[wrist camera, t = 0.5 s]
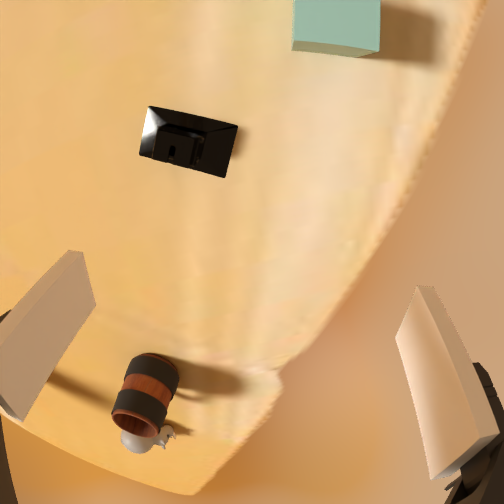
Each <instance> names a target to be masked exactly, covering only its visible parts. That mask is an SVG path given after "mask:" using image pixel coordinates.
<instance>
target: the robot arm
mask: <svg viewBox="0 0 504 504" xmlns="http://www.w3.org/2000/svg"><path fill="white" fill-rule="evenodd" d="M95 306H96V303H95V299H94V295H93V292H92V288H91V284H90V280H89V276H88V272H87V268H86V264H85V259H84V255H83V252H79V251H71V250H68V251H67V252H66V253H65V254H64V255H63V256H62V257H61V258H60V259H59V260H58V261H57V262H56V263H55V264H54V265H53V266H52V267H51V268H50V269H49V270H48V271H47V272H46V273H45V274H44V275H43V276H42V277H41V279H40V280H39V281H38V282H37V283H36V284H35V285H34V286H33V287H32V288H31V289H30V290H29V291H28V292H27V293H26V295H25V296H24V297H23V298H22V299H21V300H20V301H19V302H18V303H17V305H16V306H15V307H14V308H13V309H12V310H9V311H8V312H6V313H5V314H3V315H2V316H0V405H1V406H2V408H3V409H4V410H5V411H6V413H7V414H8V415H10V416H12V417H14V418H15V419H17V420H19V421H21V422H23V421H24V419H25V417H26V416H27V414H28V412H29V410H30V408H31V407H32V405H33V403H34V401H35V400H36V398H37V396H38V395H39V393H40V391H41V389H42V388H43V386H44V384H45V383H46V381H47V379H48V378H49V376H50V375H51V373H52V371H53V370H54V368H55V366H56V365H57V363H58V362H59V360H60V359H61V357H62V355H63V354H64V352H65V351H66V349H67V348H68V346H69V345H70V343H71V342H72V340H73V338H74V337H75V335H76V334H77V332H78V331H79V330H80V328H81V327H82V325H83V324H84V322H85V321H86V319H87V318H88V316H89V315H90V313H91V312H92V311H93V309H94V308H95ZM395 339H396V342H397V346H398V348H399V352H400V355H401V359H402V362H403V365H404V369H405V372H406V376H407V379H408V383H409V387H410V390H411V394H412V398H413V402H414V405H415V409H416V413H417V418H418V422H419V426H420V430H421V435H422V439H423V443H424V448H425V453H426V458H427V463H428V469H429V474H430V480H434V479H439V478H444V477H448V476H451V475H452V474H453V473H455V472H456V471H457V470H458V469H460V470H461V476H460V477H458V478H457V479H456V480H454V481H453V482H451V483H450V484H449V485H448V486H447V487H446V488H445V490H446V491H447V490H449V489H450V488H451V487H453V486H454V487H453V489H452V491H451V492H450V494H449V496H448V498H447V500H446V502H445V504H504V410H503V407H502V405H501V402H500V400H499V398H498V397H497V393H496V390H495V388H494V387H493V383H492V381H491V379H490V376H489V374H488V372H487V371H486V370H485V369H484V368H483V367H482V366H481V365H480V363H478V362H477V363H472V362H471V359H470V358H469V355H468V353H467V351H466V349H465V347H464V345H463V342H462V340H461V338H460V336H459V334H458V332H457V330H456V328H455V326H454V324H453V322H452V320H451V318H450V317H449V315H448V313H447V311H446V309H445V308H444V305H443V303H442V302H441V300H440V298H439V296H438V294H437V293H436V291H435V289H434V287H430V286H429V287H428V286H416V289H415V292H414V294H413V297H412V299H411V302H410V304H409V307H408V309H407V312H406V314H405V316H404V319H403V321H402V324H401V326H400V328H399V330H398V333H397V335H396V337H395ZM0 504H18V501H17V498H16V494H15V490H14V487H13V482H12V478H11V474H10V469H9V464H8V459H7V454H6V449H5V443H4V436H3V430H2V422H1V416H0Z"/></svg>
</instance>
